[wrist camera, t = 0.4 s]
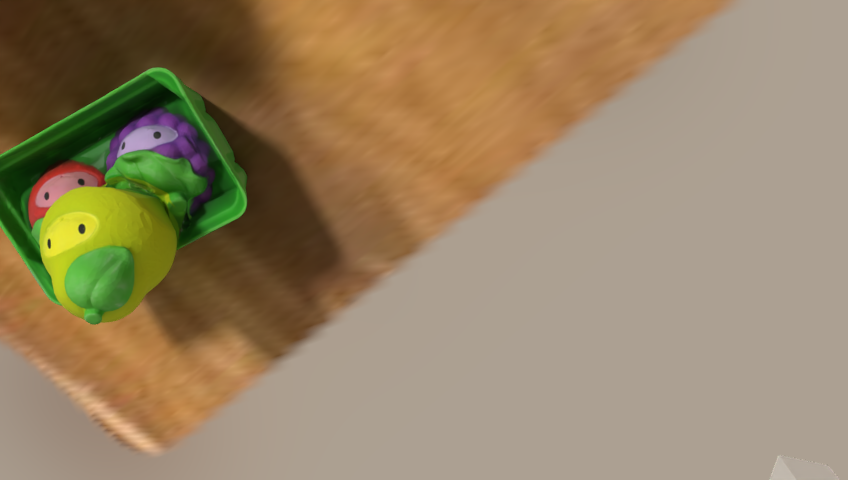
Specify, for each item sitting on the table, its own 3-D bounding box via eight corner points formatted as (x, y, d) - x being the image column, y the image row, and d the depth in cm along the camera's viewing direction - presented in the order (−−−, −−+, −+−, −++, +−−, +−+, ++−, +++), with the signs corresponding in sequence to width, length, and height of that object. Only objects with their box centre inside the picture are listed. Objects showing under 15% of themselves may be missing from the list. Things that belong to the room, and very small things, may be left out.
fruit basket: (206, 56, 36) (91, 61, 26) (293, 208, 38) (221, 274, 27) (29, 157, 38) (-147, 203, 28) (120, 298, 40) (-11, 392, 29)
